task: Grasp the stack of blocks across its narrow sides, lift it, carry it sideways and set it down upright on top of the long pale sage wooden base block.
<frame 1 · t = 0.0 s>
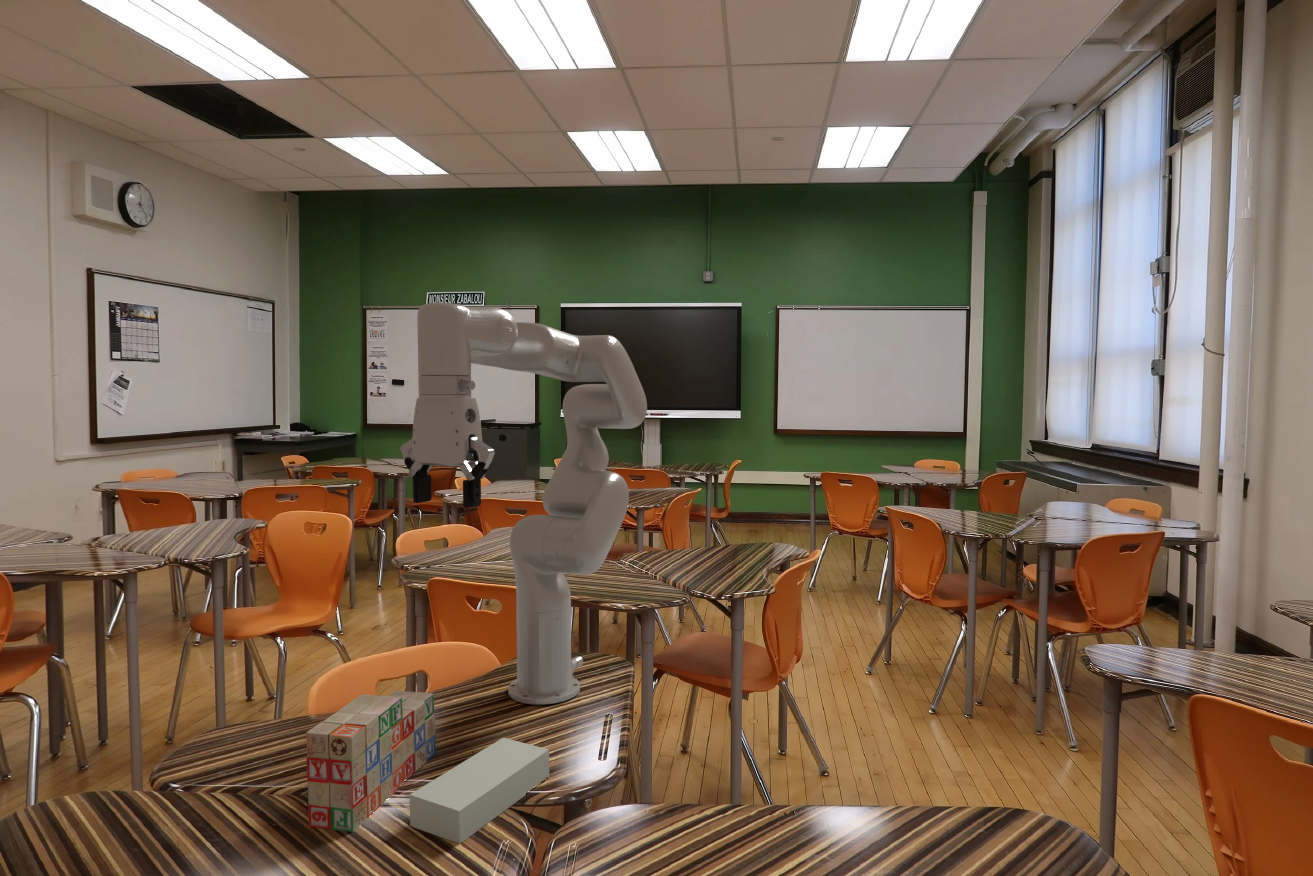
hand: (446, 504, 116), 37 cm above the table, tool pointing down, fingers open, 9 cm apart
stack of blocks: (378, 789, 106), on the table
base block: (483, 800, 103), on the table
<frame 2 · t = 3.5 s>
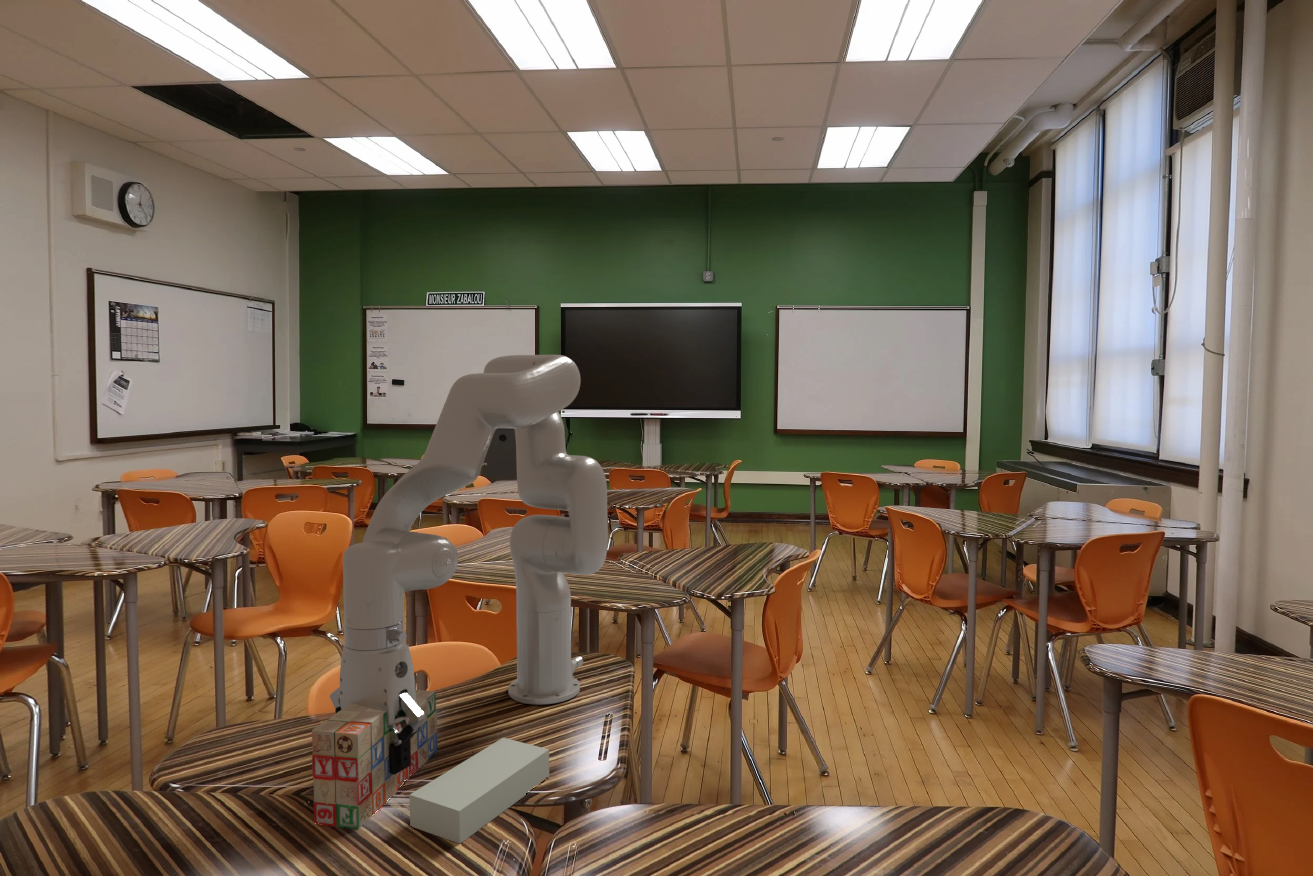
hand: (377, 762, 106), 3 cm above the table, tool pointing down, fingers open, 7 cm apart
stack of blocks: (381, 787, 107), on the table, touching gripper
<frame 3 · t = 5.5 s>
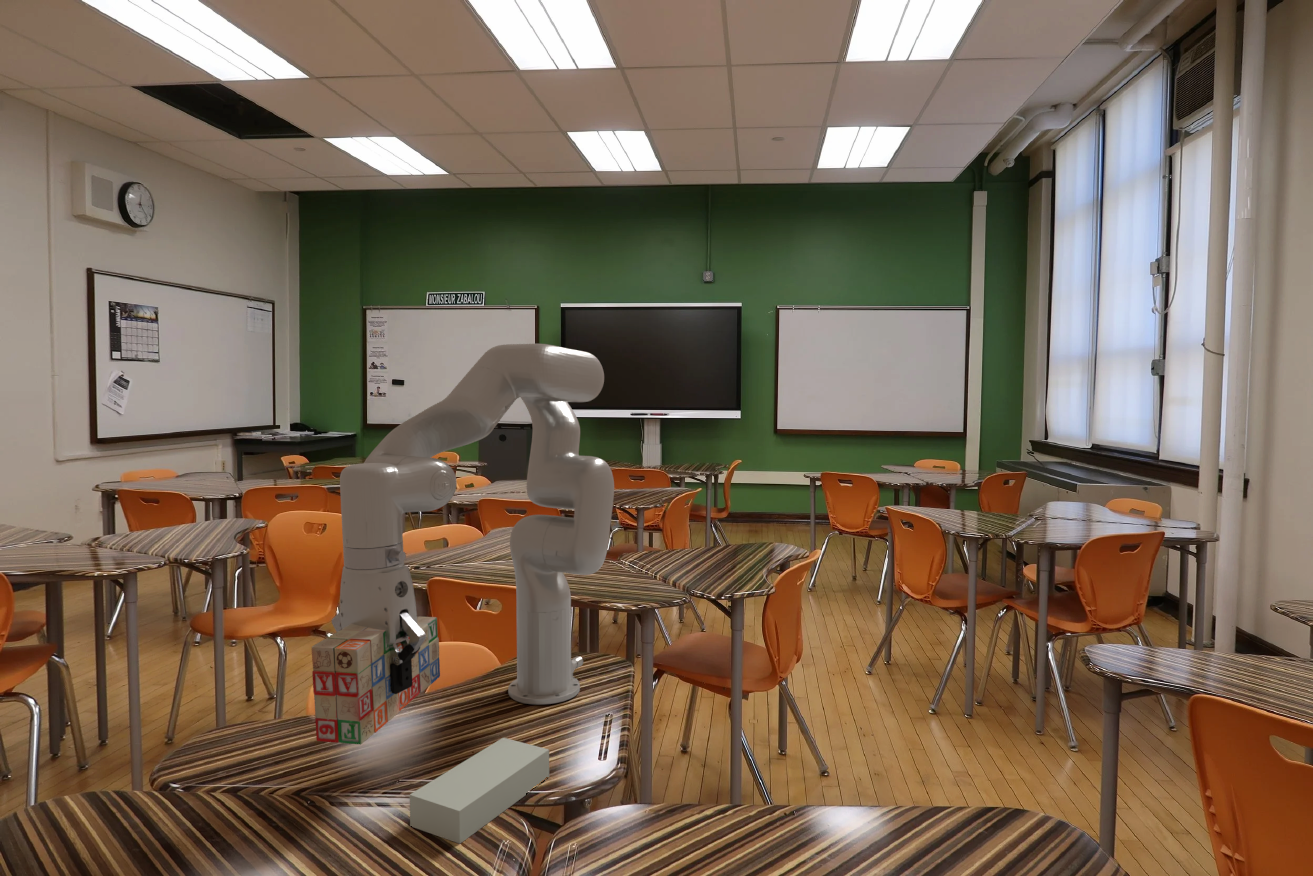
hand: (379, 683, 106), 14 cm above the table, tool pointing down, fingers closed on stack of blocks, 7 cm apart
stack of blocks: (384, 708, 107), point 10 cm above the table, touching gripper
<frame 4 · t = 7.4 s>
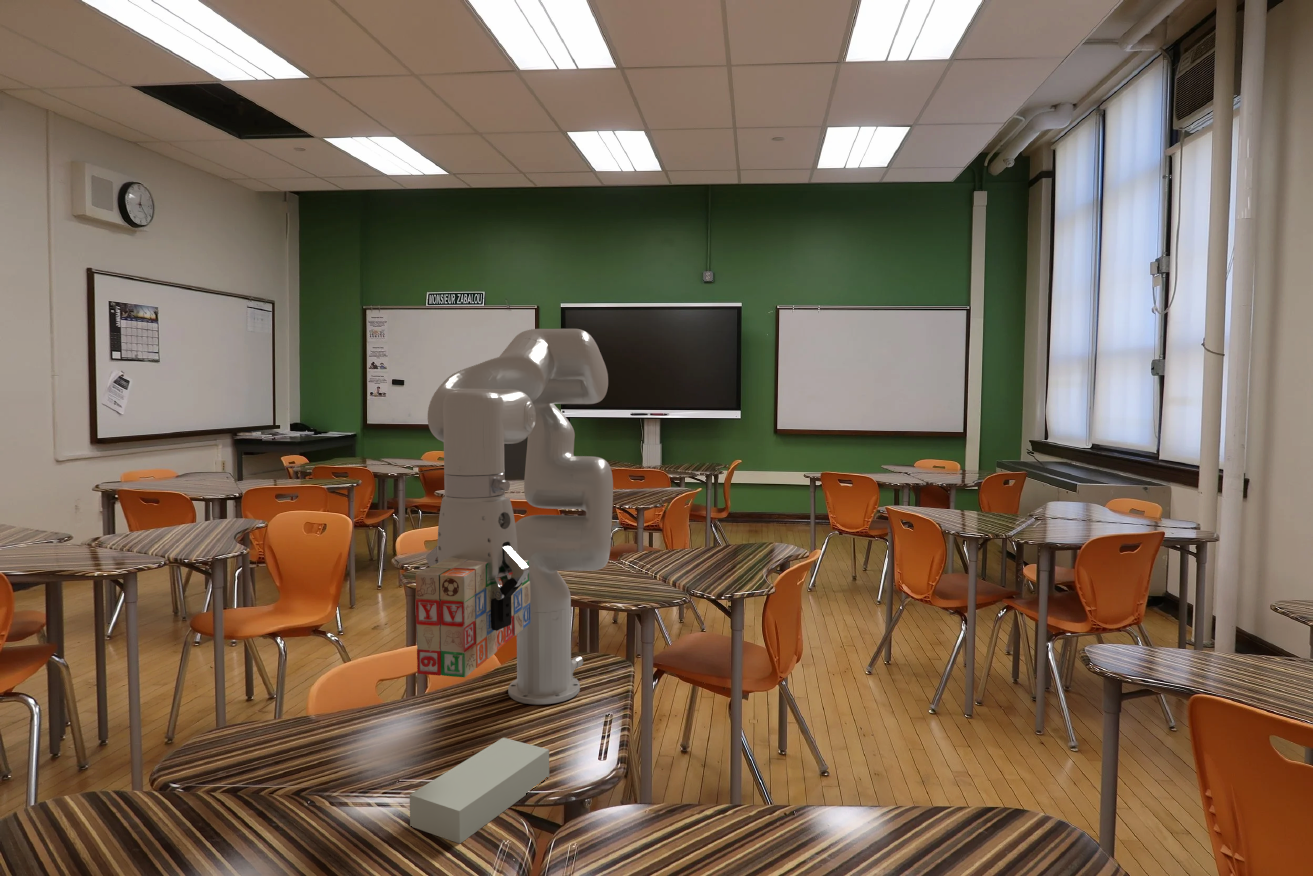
hand: (476, 622, 102), 24 cm above the table, tool pointing down, fingers closed on stack of blocks, 7 cm apart
stack of blocks: (479, 648, 103), point 20 cm above the table, touching gripper
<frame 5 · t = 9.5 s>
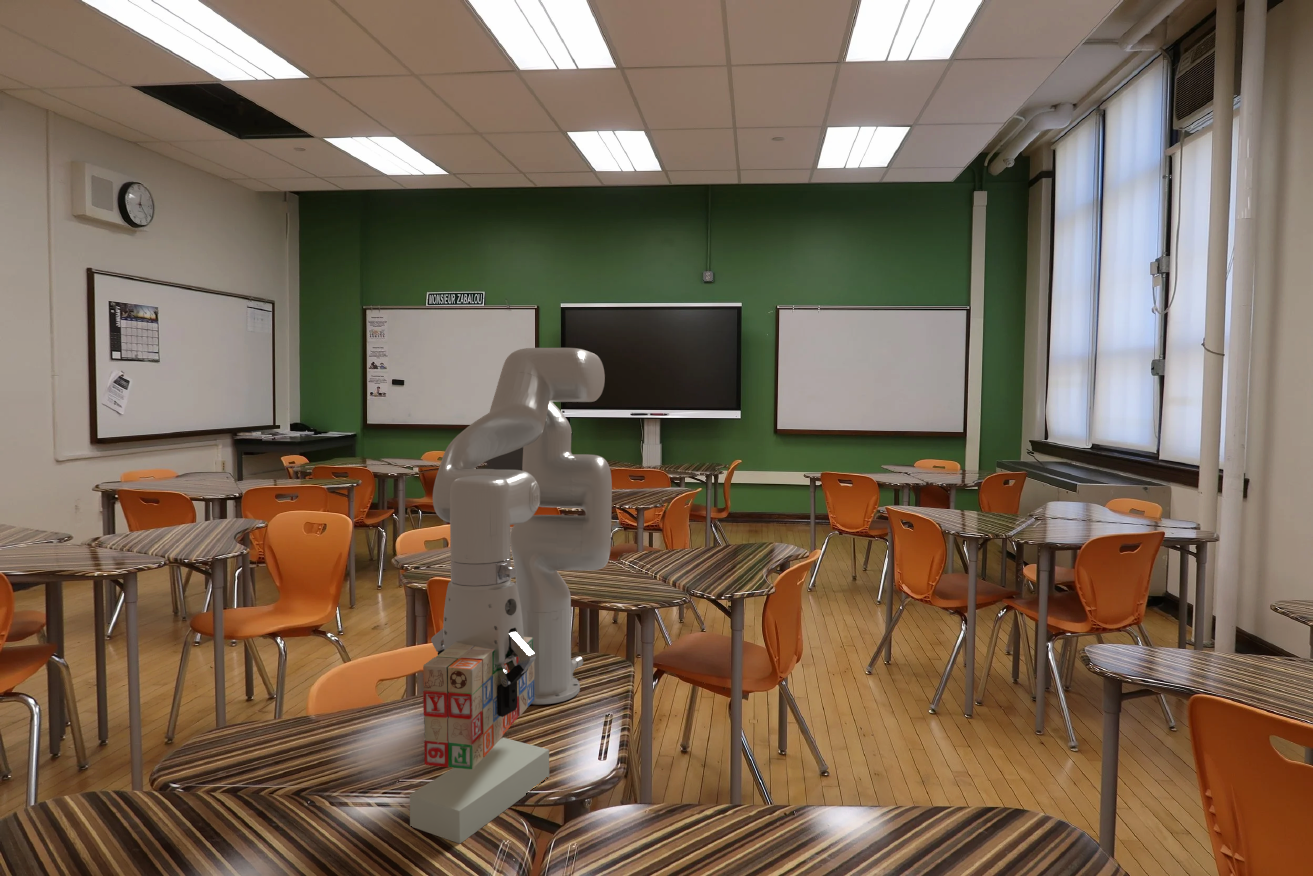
hand: (482, 706, 102), 13 cm above the table, tool pointing down, fingers closed on stack of blocks, 7 cm apart
stack of blocks: (484, 731, 103), point 9 cm above the table, touching gripper
when the fingers open (9 cm above the table, at t = 11.3 s): stack of blocks drops 1 cm, resting on base block.
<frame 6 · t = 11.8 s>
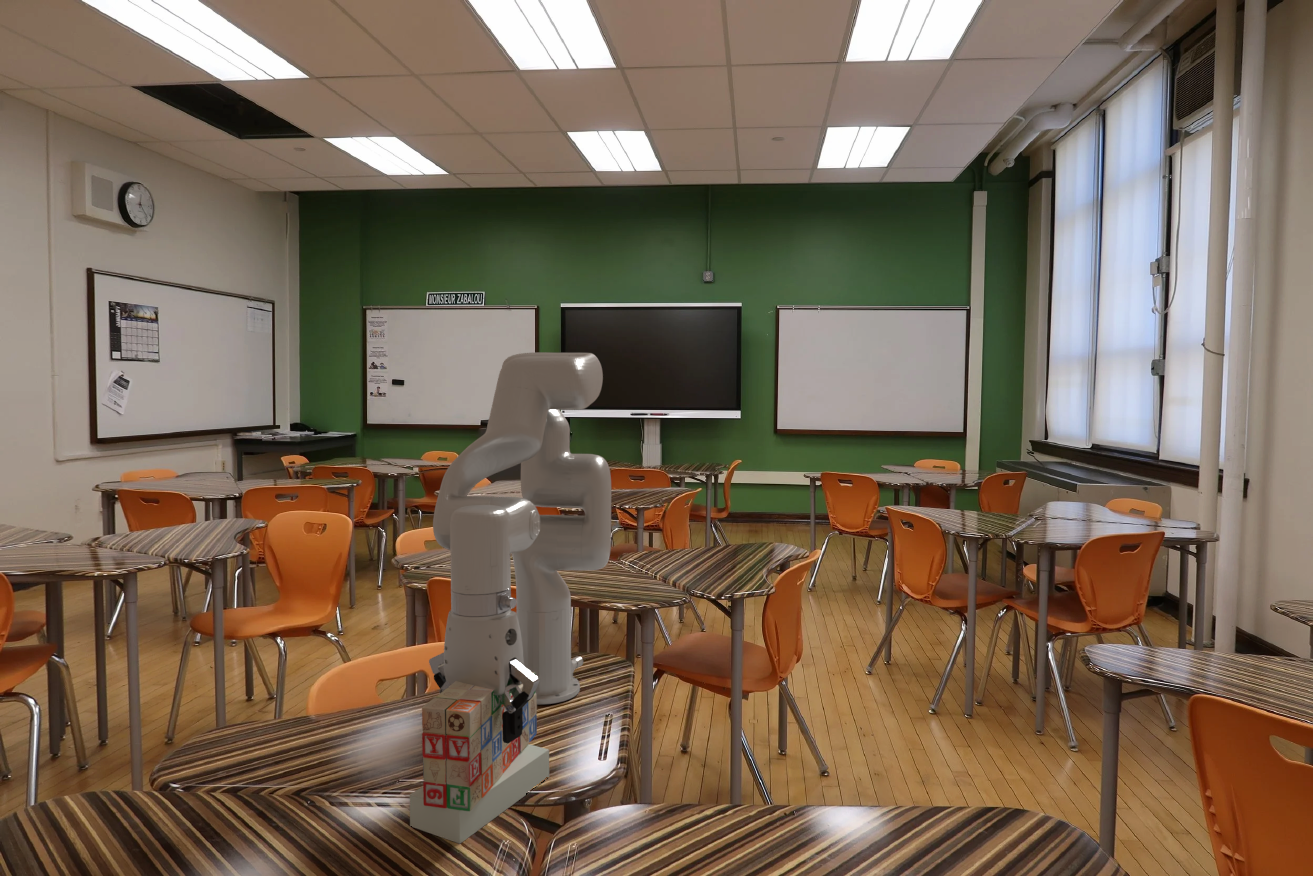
hand: (482, 731, 102), 9 cm above the table, tool pointing down, fingers open, 9 cm apart
stack of blocks: (485, 769, 103), point 4 cm above the table, touching base block
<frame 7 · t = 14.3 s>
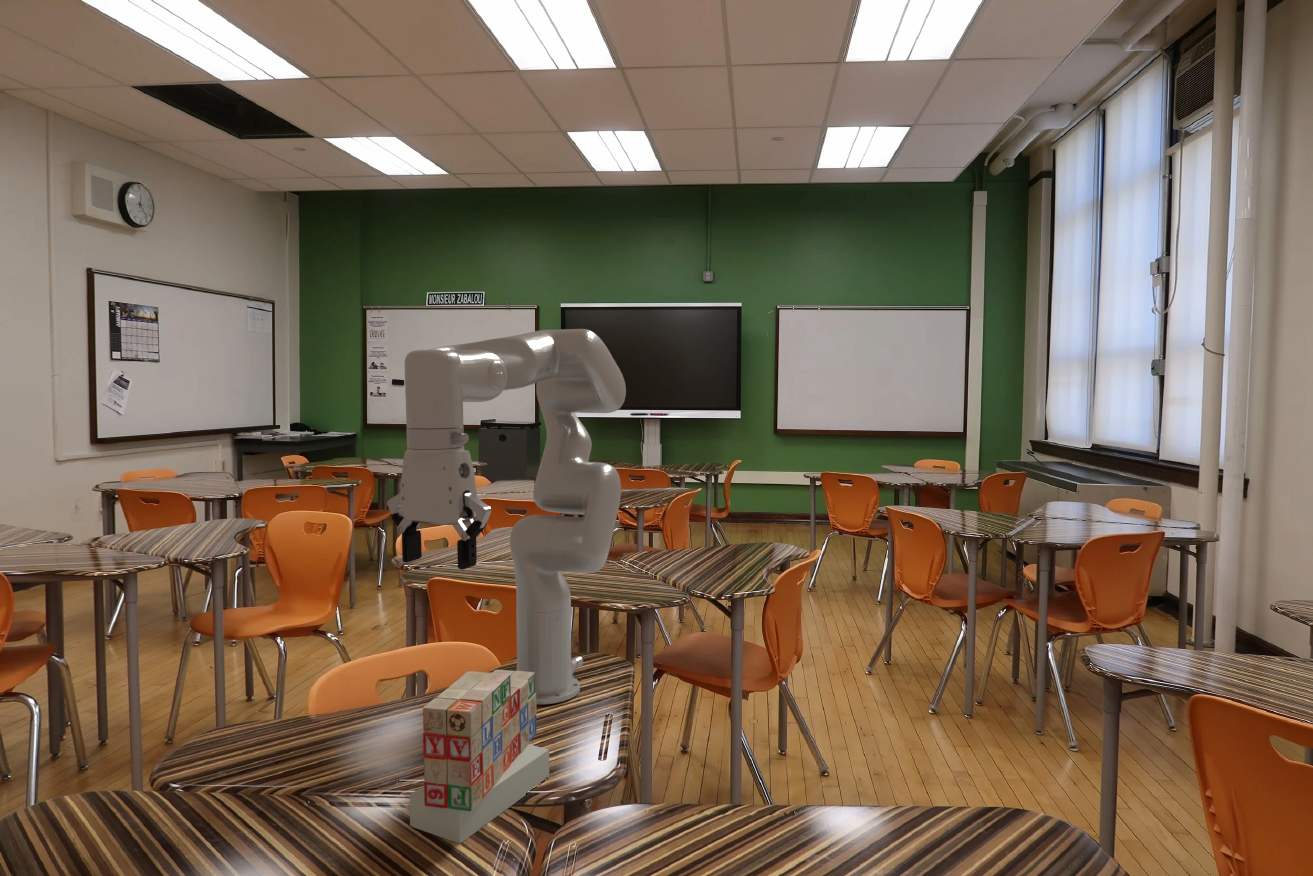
hand: (439, 563, 109), 30 cm above the table, tool pointing down, fingers open, 9 cm apart
nothing on the table moved.
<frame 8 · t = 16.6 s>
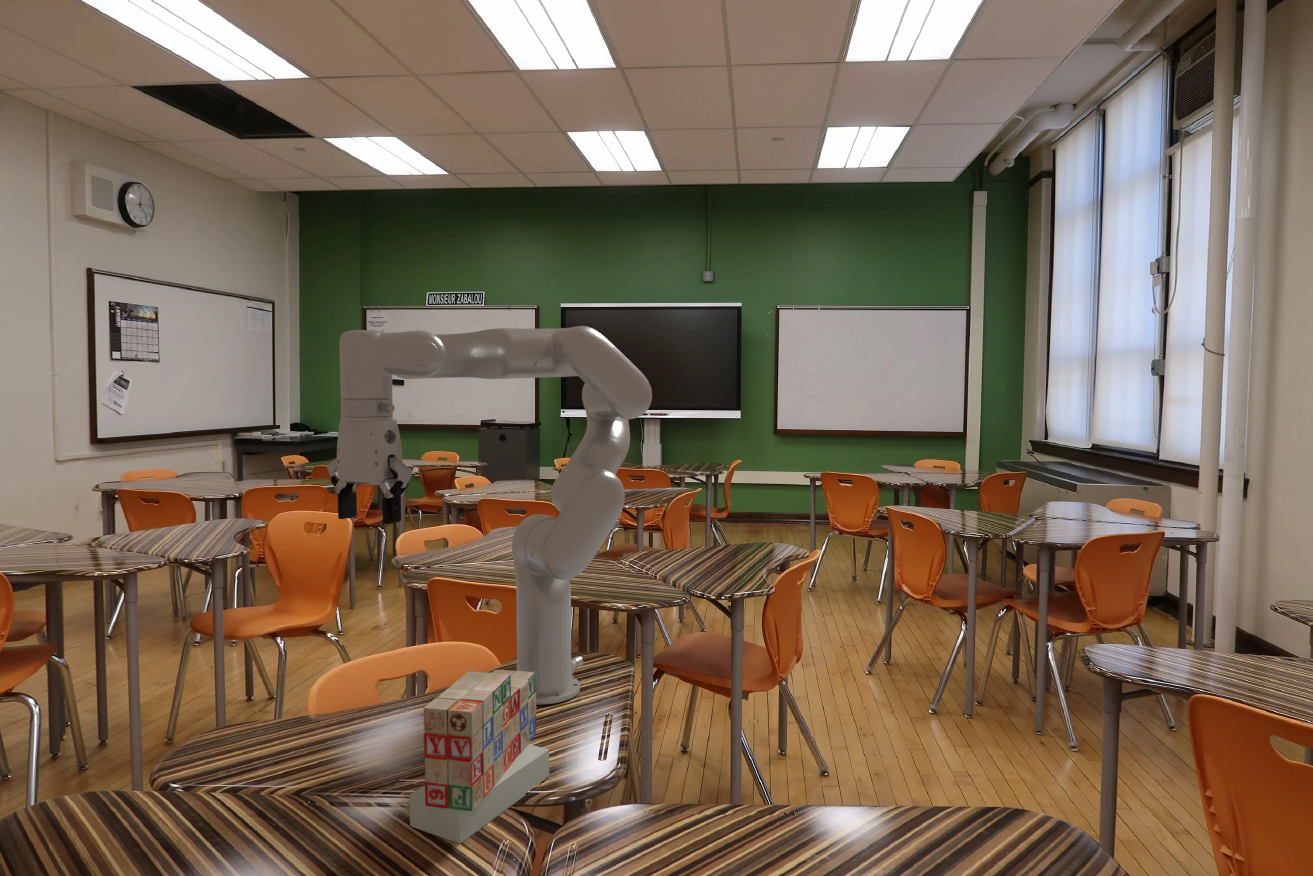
hand: (369, 520, 123), 33 cm above the table, tool pointing down, fingers open, 9 cm apart
nothing on the table moved.
at the end: stack of blocks 0.9 cm off-centre on the base block, point 3.8 cm above the base block's base; stack of blocks tilted 0°; the gripper is holding nothing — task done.
